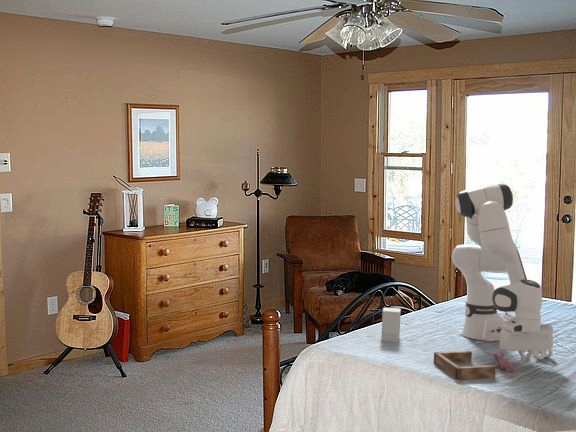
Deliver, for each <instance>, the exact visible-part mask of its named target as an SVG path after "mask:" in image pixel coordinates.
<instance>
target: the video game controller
mask: <svg viewBox="0 0 576 432" xmlns="http://www.w3.org/2000/svg"><path fill="white" fill-rule="evenodd" d="M491 358H492V360H493V361H495V362H496V364H497V366H498V367H499V368H501V370H502V371H504V370H507V371H508V372H510V373H515V372H516V371H517V369H516V367H515V365H514V364H513V363H511V362H510V360H509V359H508V358H507V357H506V355H505V354H504V353H503V352H500V351H497V352H496V351H495V352H493V353H492V357H491Z"/></svg>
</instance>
